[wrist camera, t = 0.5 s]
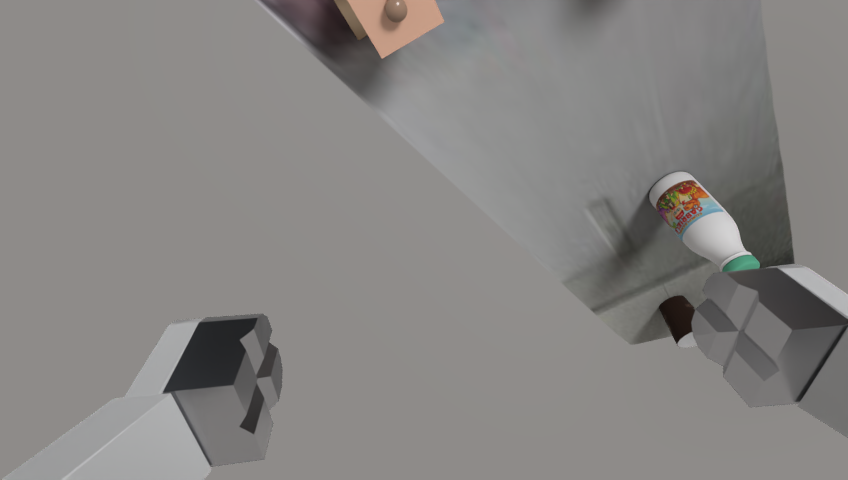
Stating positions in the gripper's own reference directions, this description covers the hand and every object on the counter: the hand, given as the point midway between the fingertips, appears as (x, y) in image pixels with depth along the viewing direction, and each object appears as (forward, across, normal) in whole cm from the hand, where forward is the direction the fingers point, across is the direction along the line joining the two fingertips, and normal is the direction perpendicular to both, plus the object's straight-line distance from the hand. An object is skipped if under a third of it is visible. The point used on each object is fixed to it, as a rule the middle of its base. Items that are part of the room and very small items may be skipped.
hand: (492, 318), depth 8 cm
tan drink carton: (+47, +1, -6) cm, 47 cm away
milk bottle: (+60, -47, +29) cm, 82 cm away
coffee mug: (+72, -65, +69) cm, 119 cm away
